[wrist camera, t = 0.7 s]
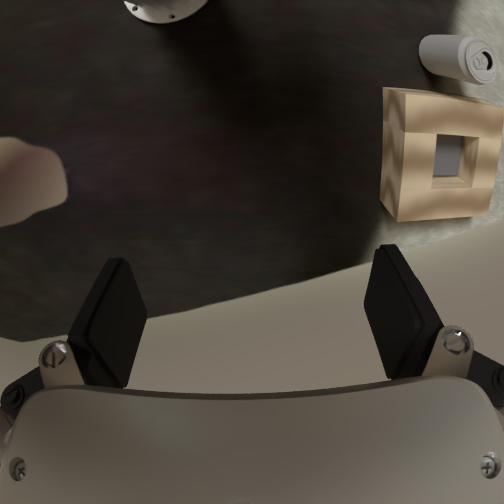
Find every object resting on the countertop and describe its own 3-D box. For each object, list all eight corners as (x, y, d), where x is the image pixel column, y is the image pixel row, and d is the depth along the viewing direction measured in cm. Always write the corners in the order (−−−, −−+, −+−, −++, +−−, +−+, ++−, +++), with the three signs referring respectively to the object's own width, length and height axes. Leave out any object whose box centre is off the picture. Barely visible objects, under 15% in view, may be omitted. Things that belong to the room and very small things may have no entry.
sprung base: (420, 126, 36) (424, 128, 35) (459, 129, 36) (462, 131, 35) (417, 173, 40) (420, 175, 40) (454, 173, 40) (457, 175, 39)
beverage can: (454, 70, 32) (505, 82, 22) (424, 78, 34) (472, 91, 24) (442, 32, 29) (493, 34, 19) (410, 38, 30) (458, 39, 21)
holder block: (382, 87, 35) (405, 93, 29) (476, 98, 34) (504, 108, 28) (379, 199, 46) (396, 222, 40) (465, 195, 44) (486, 215, 39)
